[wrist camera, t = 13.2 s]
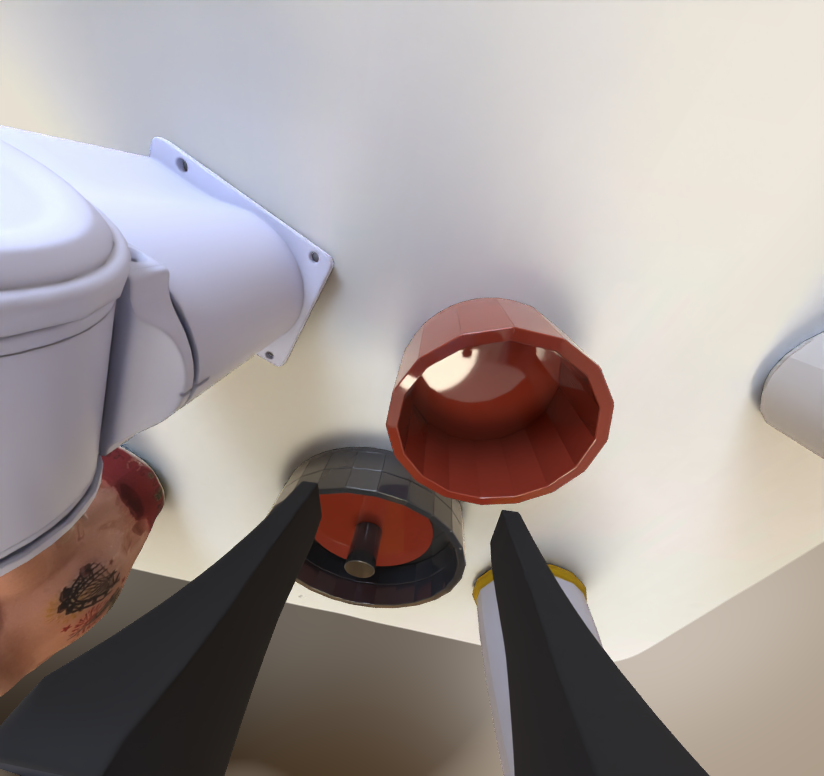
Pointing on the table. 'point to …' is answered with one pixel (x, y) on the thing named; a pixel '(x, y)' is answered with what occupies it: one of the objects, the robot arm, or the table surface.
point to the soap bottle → (496, 651)
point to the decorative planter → (77, 569)
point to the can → (798, 395)
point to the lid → (371, 532)
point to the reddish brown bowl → (496, 404)
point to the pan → (393, 483)
